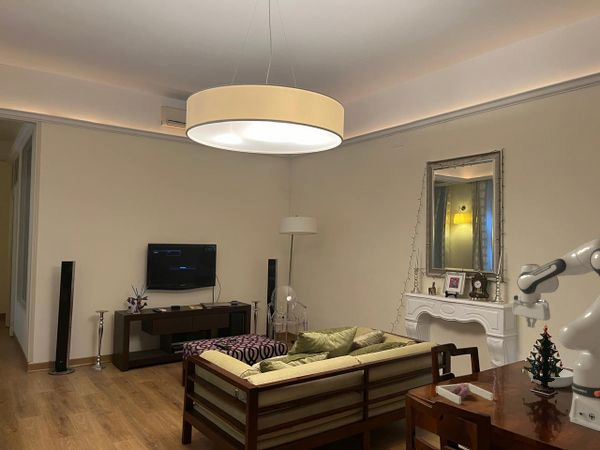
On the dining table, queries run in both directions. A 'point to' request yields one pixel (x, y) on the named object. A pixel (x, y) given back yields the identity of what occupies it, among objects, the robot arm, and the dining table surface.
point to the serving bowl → (558, 379)
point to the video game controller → (461, 390)
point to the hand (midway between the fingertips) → (530, 327)
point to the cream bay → (446, 393)
